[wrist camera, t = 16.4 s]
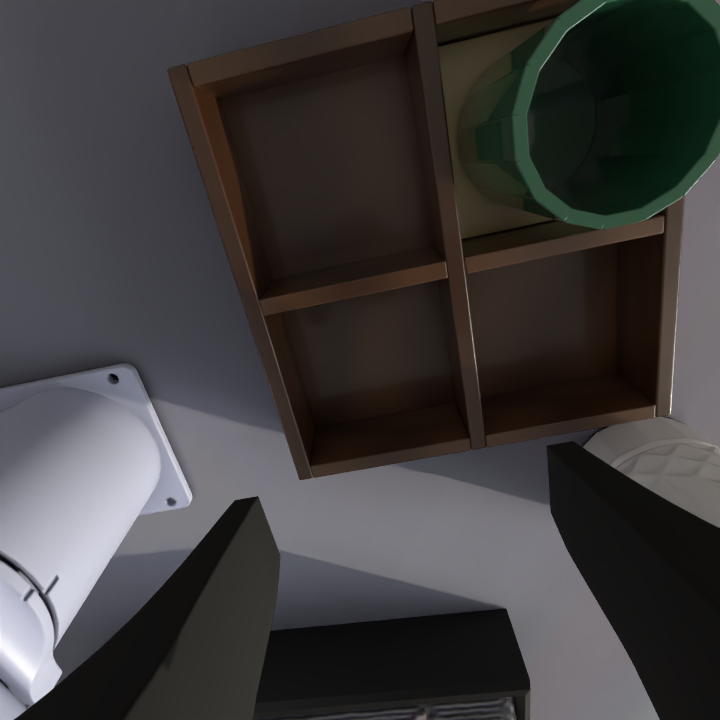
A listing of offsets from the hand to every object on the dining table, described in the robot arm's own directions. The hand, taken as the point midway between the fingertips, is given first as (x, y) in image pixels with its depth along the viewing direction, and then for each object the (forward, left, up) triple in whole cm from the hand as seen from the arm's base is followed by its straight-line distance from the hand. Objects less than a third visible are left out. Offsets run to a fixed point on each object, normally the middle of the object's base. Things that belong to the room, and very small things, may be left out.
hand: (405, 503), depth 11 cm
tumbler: (+6, +8, -9) cm, 14 cm away
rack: (+3, +4, -10) cm, 11 cm away
